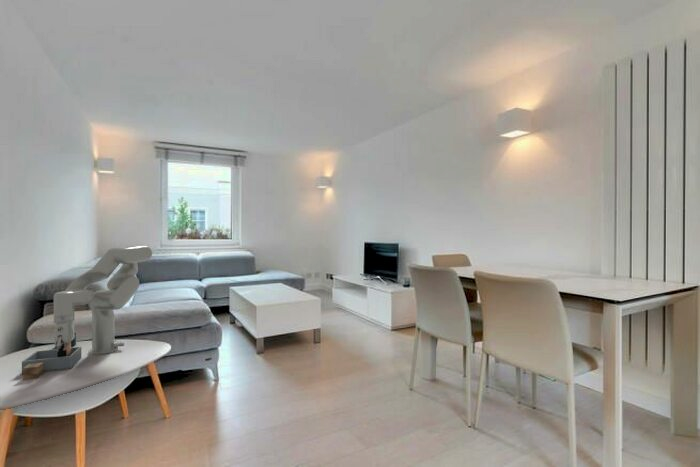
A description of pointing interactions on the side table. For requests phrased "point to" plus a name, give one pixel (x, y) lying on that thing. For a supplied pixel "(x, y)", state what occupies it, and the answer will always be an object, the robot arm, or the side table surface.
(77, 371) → the side table surface
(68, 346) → the peach domed capsule
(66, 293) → the robot arm
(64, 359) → the tote
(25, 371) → the walnut cube
